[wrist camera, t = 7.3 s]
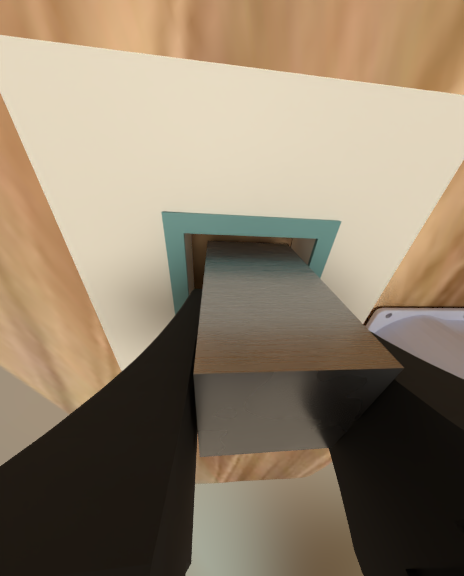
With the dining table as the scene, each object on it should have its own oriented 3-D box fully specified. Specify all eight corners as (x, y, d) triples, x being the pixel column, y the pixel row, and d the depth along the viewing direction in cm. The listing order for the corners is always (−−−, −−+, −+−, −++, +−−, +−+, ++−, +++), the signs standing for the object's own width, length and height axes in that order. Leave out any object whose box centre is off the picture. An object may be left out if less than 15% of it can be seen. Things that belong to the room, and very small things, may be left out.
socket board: (430, 115, 8) (507, 98, 6) (318, 348, 17) (334, 375, 15) (46, 71, 7) (-35, 26, 5) (137, 351, 16) (124, 382, 13)
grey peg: (287, 243, 9) (404, 368, 4) (272, 306, 12) (331, 447, 6) (207, 240, 9) (192, 374, 3) (208, 305, 11) (199, 457, 5)
